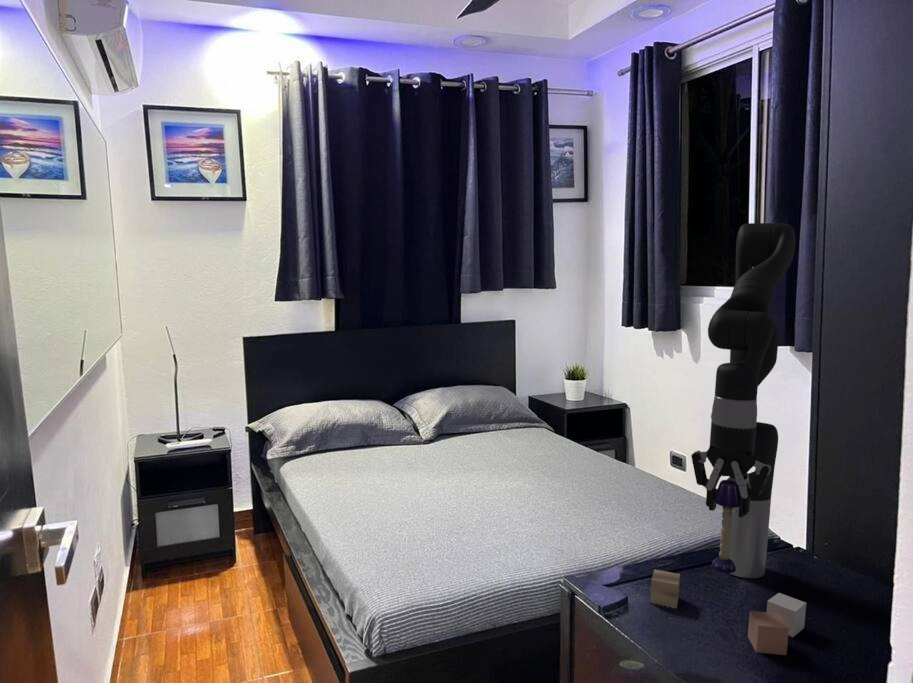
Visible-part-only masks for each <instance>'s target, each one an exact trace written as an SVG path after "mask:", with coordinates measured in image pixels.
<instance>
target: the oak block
mask: <svg viewBox="0 0 913 683" xmlns="http://www.w3.org/2000/svg"><path fill="white" fill-rule="evenodd" d="M680 581H681V573H676V572H671V571H666V570H665V571H664V570H659V569H653V573H652V576H651V581H650V582H651V583H650V599H649V603H650V602H651V603H654V604H653V605H655V604H659V605H658V606H660V605H662V606H661V607H664V606H667V607H666V608H669V607H671V608H670V609H674V608H675V610H677V608H678V604H679V594H680Z"/></svg>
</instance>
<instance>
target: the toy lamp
mask: <svg viewBox="0 0 913 683" xmlns="http://www.w3.org/2000/svg"><path fill="white" fill-rule="evenodd" d="M716 489H717V492H716V495H715V497H714V502H715V503H716V505H718V506H720V507H722V513H721V517H722V520H721V529H720V534H721V535H720V538H719V540H720V544H719V552H718V556H717V557H715V558H714V559H713V560H712V562H711V569H713V570H714V571H717V572H719V573H724V574H729V573H733V572H735V571H736V567H735V564H734V562H733V561H732V560H731V559H729V550H730V544H729V543H730V541H731V538H730V535H731V526H732V521H731V519H732V510H733V508H736V507H739V501H740V492H739V487H738V485H737V483H736V482H735V481H732V480H727V479H722V480H720V481H719V484H718V487H717V488H716Z"/></svg>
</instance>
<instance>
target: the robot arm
mask: <svg viewBox="0 0 913 683" xmlns="http://www.w3.org/2000/svg"><path fill="white" fill-rule="evenodd" d="M796 239H797V238H796V231H795V228H794V227H793V226H792V225H791V224H789V223H782V222H780V223H779V222H775V223H774V222H759V223H757V222H755V223H753V222H752V223H751V222H749V223H747V222H746V223H743V224H742V225H740V227H739V229H738V231H737V235H736V244H735V284H734V287H733V288H732V292H731V295H730V296H729V298H728V299H727V300H726V301H725V302H724V303H723V304H722V305H721V306H720V307H718V309H716V311H715V312H714V313H713V314H712V317H711V319H710V320H709V324H708V327H707V335H708V336H707V337H708V338H709V341H710V343H711V344H712V346H714V347H716V348H718V349H721V350H729V362H725V363H721V364H719V365H718V366H717V368H716V373H715V387H714V397H713V402H712V407H711V413H710V419H711V422H710V432H709V433H710V435H709V447H708V449H707V450H706V451H700V450H695V451H694V452H693V453H692V454H691V462H692V465H693V471H694V476H695V482H696V484H697V485H698V486H703V488H705V489H706V496H705V498H706V500H705V505H706V507H708V511H712V512H714V511H715V510H716V509H717V504H716V503H715V502H714V497H715V495H716V492H717V489H718V488H717V485H718V483H719V482H720V479H721V477H728V478H727V479H726V480H732V481H735V482H736V483H737V485H738V487H739V492H740V501H739V507H736V508H733V510H732V519H731V521H732V526H731V535H730V538H731V541H730V543H729V544H730V550H729V559H731V560H732V561H733V562H734V564H735V567H736V571H735V572H733V573H728V574H729V575H733V576H736V577H739V578H744V579H759V578H761V577H763V576H765V572H766V562H767V561H766V560H767V552H768V540H769V539H768V538H769V530H770V529H769V527H770V518H771V517H770V516H771V515H770V514H771V502H772V493H773V485H774V484H773V483H774V476H775V475H774V474H775V466H776V461H777V460H776V458H777V453H778V447H779V446H778V445H779V432H778V428H777V427H776V426H775V425H774V424H771V423H766V422H760V421H757V420H758V404H757V403H758V400H757V399H758V388H759V386H760V385H761V383H762V382H764V380H765V379H766V378H767V376H769V374H770V373H771V372H772V370H773V369H774V367H775V366H776V363H777V360H778V349H779V336H780V333H779V328H778V325H777V323H776V322H775V320H774V318H773V315H772V314H771V313H770V307H771V304H772V300H773V296H774V293H775V291H776V288H777V287H778V284H780V282H781V281H782V279H783V278H784V276H785V274H786V273H787V271H788V269H789V267H790V266H791V264H792V261H793V259H794V256H795V251H796V243H797V242H796ZM707 459H708V461H709V463H710V464H711V466H712V468H713V469H712V470H711V474H710V475H709V478H708V476H707V472H706V467H705V463H706V461H707ZM753 467H754V471H752V472H749V471H750V470H751V469H752V468H753ZM748 472H749V473H748Z"/></svg>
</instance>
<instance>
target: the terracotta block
mask: <svg viewBox="0 0 913 683" xmlns="http://www.w3.org/2000/svg"><path fill="white" fill-rule="evenodd" d="M788 633H789V628H788V626H787V625H786V623H785V622H784V620H783V619H782V617H781V616H780V614H779V613H768V612H765V611H756V610H755V611H753V610H749V618H748V629H747V638H748V640H749V642H750V643H751V645H752V648H753V649H754V651H755V653H759V654H771V655H781V656H787V655H788V654H787V653H788V644H789V642H788V641H789V636H788Z"/></svg>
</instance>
